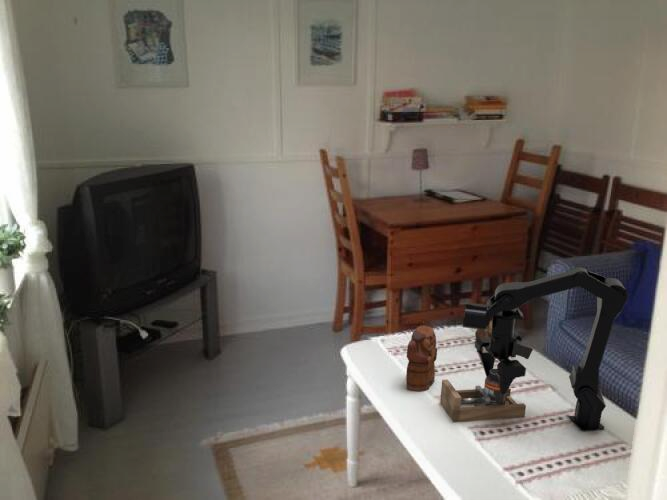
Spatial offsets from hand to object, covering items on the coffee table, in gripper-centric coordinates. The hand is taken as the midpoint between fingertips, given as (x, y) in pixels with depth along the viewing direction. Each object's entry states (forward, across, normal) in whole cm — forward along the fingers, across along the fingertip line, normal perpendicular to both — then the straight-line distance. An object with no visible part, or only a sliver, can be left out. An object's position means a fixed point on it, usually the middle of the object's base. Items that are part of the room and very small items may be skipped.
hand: (495, 385), depth 160 cm
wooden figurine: (+7, +16, +15) cm, 23 cm away
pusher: (+7, 0, +6) cm, 9 cm away
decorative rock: (+7, +38, -16) cm, 42 cm away
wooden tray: (+7, 0, +3) cm, 8 cm away
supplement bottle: (+7, 0, 0) cm, 7 cm away
